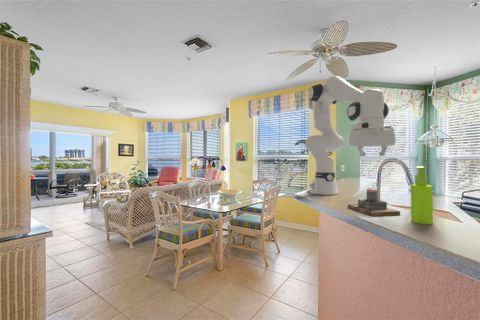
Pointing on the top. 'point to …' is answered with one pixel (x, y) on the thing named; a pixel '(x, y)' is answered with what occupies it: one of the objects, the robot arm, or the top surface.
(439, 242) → the top surface
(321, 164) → the robot arm
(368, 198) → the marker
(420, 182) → the soap dispenser
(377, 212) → the wooden socket board
